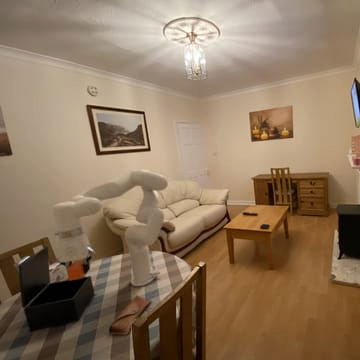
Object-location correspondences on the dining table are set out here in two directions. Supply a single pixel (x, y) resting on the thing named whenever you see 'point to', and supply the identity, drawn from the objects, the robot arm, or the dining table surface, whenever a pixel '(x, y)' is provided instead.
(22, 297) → the box lid
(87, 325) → the dining table surface
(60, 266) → the candy bar box
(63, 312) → the black box
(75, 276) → the packet
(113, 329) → the sunglasses case
